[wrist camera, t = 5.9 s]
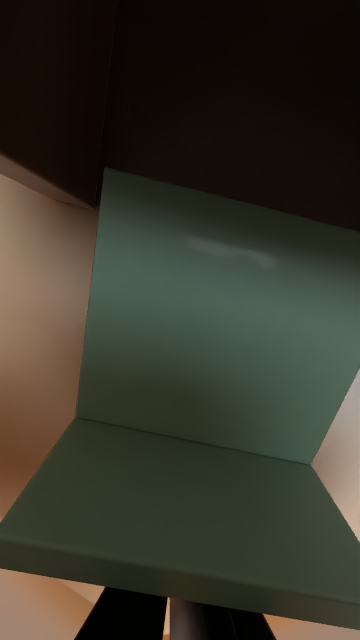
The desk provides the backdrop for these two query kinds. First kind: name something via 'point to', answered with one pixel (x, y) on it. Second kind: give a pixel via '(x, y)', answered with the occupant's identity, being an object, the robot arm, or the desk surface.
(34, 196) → the desk surface
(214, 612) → the robot arm
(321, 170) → the desk surface
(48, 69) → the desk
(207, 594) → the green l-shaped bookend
